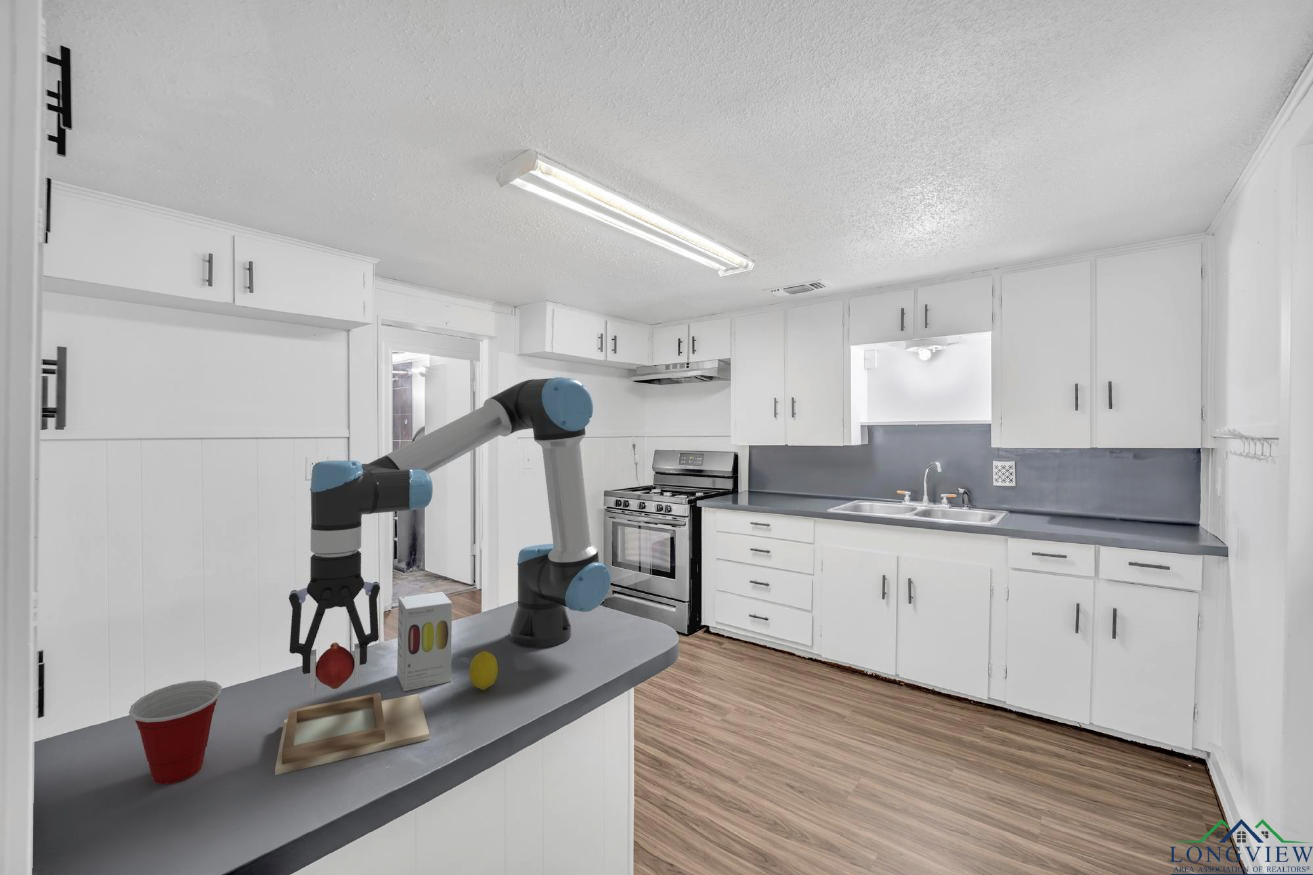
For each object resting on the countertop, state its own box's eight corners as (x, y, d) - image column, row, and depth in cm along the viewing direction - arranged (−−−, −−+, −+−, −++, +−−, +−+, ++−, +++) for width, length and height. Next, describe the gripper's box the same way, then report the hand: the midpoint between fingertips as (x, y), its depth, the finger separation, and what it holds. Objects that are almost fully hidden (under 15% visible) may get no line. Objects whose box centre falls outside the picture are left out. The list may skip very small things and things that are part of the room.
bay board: (418, 698, 112) (418, 683, 112) (429, 739, 98) (429, 721, 98) (284, 725, 101) (284, 708, 101) (275, 775, 87) (275, 755, 87)
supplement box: (402, 692, 114) (403, 608, 114) (395, 675, 122) (396, 596, 122) (452, 681, 120) (453, 601, 119) (442, 665, 127) (443, 590, 127)
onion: (318, 683, 100) (317, 638, 99) (356, 677, 102) (355, 633, 102) (313, 699, 94) (312, 651, 94) (353, 692, 97) (352, 645, 96)
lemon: (464, 690, 116) (464, 650, 116) (488, 681, 120) (489, 643, 120) (478, 699, 112) (478, 658, 112) (503, 690, 116) (503, 651, 116)
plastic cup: (115, 804, 80) (114, 720, 80) (147, 762, 90) (146, 686, 90) (210, 786, 85) (210, 706, 84) (230, 747, 94) (230, 675, 94)
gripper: (395, 543, 105) (394, 668, 106) (272, 552, 96) (271, 688, 97) (398, 551, 99) (397, 684, 99) (267, 562, 90) (266, 708, 90)
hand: (335, 686), depth 98 cm, fingers closed on onion, 6 cm apart
